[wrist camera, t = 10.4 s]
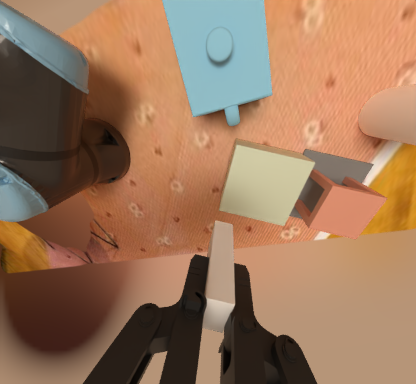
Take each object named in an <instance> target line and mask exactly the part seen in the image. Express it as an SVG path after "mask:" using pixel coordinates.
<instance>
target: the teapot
mask: <svg viewBox="0 0 416 384" xmlns="http://www.w3.org/2000/svg"><path fill="white" fill-rule="evenodd" d="M162 2H163V5H164V9H165V13H166V17H167V20H168V24H169V28H170V32H171V36H172V39H173V43H174V47H175V51H176V54H177V58H178V62H179V66H180V70H181V73H182V77H183V81H184V85H185V88H186V92H187V96H188V100H189V104H190V107H191V111H192V115H193V117H197V116H201V115H206V114H209V113H213V112H216V111H220V110H223V109H224V110H225V115H226V120H227V124H228V125H229V126H235V125H237V124H239V123H240V116H239V110H238V105H241V104H245V103H248V102H252V101H256V100H259V99H262V98H265V97H268V96H271V95H272V85H271V74H270V63H269V52H268V41H267V30H266V19H265V8H264V0H162Z"/></svg>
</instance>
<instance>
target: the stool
mask: <svg viewBox="0 0 416 384" xmlns="http://www.w3.org/2000/svg"><path fill="white" fill-rule="evenodd" d="M309 176H310V177H311V178H312V179H313V180H314V181H316V182H317V183H318V184H319V185H320V186H321V187H322V188H324V189H325V190H324V192H323V194H322V195H321V197H320V199H319V201H318V202H317V204H316V206H315V208H314V210H313V211H312V213H311V212H310V211H309V209H308V208H307V207H306V205H305V204H304V203H303V202H302V200H299V199H297V201H296V203H295V205H294V206H295V208H296V209H297V211H298V212H299V214H300V215H301V217H302V219H303V220H304V222H305V223H306V225H307V226H308V228H310V229H314V230H318V231H323V232H327V233H331V234H335V235H339V236H344V237H348V238H352V239H357V238H358V236H359V235H360V234H361V232H362V231H363V230H364V228H365V227H366V226H367V225H368V223H369V222H370V221H371V219H372V218H373V217H374V215H375V214H376V213H377V212H378V210H379V209H380V208H381V206H382V205H383V204H384V202H385V201H386V200H387V198H386V197H384V196H383V195H381V194H379V193H377V192H376V191H374V190H372V189H370V188H369V187H367V186H365V185H363V184H362V183H360V182H358V181H356V180H355V179H353V178H350V177H346V176H345V178H344V180H343V181H342V183H344V184H345V185H347V186H348V187H346V186H342V185H338V184H336V183H334V182H333V181H332V180H330V179H329V178H327V177H326V176H325V175H323V174H322V173H320V172H319V171H318V170H315V169H312V171H311V173H310V175H309Z"/></svg>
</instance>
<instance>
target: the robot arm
mask: <svg viewBox="0 0 416 384" xmlns="http://www.w3.org/2000/svg"><path fill="white" fill-rule="evenodd" d="M88 77H89V64H88V61H87V59H86V57H85V56H84V54H83V53H82V52H81V51H80V50H79V49H78V48H77V47H75V46H74V45H72V44H71V43H69V42H68V41H66V40H65V39H63V38H61V37H60V36H58V35H56V34H55V33H53V32H52V31H50V30H48V29H47V28H45V27H44V26H42V25H40V24H39V23H37V22H35V21H33V20H32V19H30V18H29V17H27V16H25V15H24V14H22V13H20V12H19V11H17V10H15V9H14V8H12V7H11V6H9V5H7V4H6V3H4V2H2V1H0V220H2V221H8V222H18V221H23V220H26V219H29V218H31V217H33V216H35V215H38V214H40V213H44V212H46V211H48V209H50V208H52V207H53V206H55V205H57V204H59V203H61V202H62V201H64V200H66V199H68V198H70V197H71V196H73V195H75V194H77V193H79V192H80V191H82V190H84V189H86V188H88V187H90V186H93V185H101V184H109V183H112V182H115V181H116V180H118V179H120V178H121V177H123V176H124V175H125V174H126V172H127V170H128V168H129V165H130V153H129V149H128V146H127V144H126V142H125V140H124V139H123V137H122V136H121V134H120V133H119V132H118V131H117V130H116V129H115V128H114V127H113V126H111V125H110V124H108V123H106V122H104V121H102V120H99V119H94V118H87V119H84V116H85V109H86V101H87V94H89V90H88ZM250 287H251V286H250V277H249V272H248V270H247V268H246V266H245V265H240V264H236V263H234V245H233V224H229V223H225V222H221V221H217V220H215V224H214V227H213V231H212V235H211V238H210V242H209V247H208V253H207V257H205V256H200V255H196V254H195V256H194V257H193V258H192V259H191V262H190V266H189V270H188V274H187V278H186V282H185V285H184V290H183V293H182V296H181V298H180V300H179V301H178V302H177V303H176V304H174V305H172V306H169V307H162V308H159V307H158V306H156V304H152V303H147V304H144V305H142V306H140V307H139V308H138V309H137V310H136V311H135V312H134V314H133V315H132V317H131V318H130V319H129V321H128V322H127V323H126V325H125V326H124V328H123V329H122V330H121V332H120V333H119V335H118V336H117V337H116V339H115V340H114V342H113V343H112V344H111V345H110V347H109V348H108V350H107V351H106V352H105V354H104V355H103V357H102V358H101V359H100V361H99V362H98V364H97V365H96V366H95V368H94V369H93V370H92V372H91V373H90V374H89V376H88V377H87V379H86V380H85V381H84V383H83V384H139V383H140V380H141V379H142V377H143V374H144V373H145V370H146V369H147V367H148V365H149V363H150V361H151V359H152V357H153V355H154V354H155V353H160V352H165V351H167V355H166V359H165V363H164V367H163V371H162V375H161V379H160V383H159V384H195V382H196V374H197V367H198V359H199V350H200V342H201V334H202V328H205V329H209V330H213V331H217V332H221V333H222V332H223V330H224V339H223V341H222V343H221V345H220V347H219V353H221V376H220V384H317V382H316V380H315V378H314V375H313V373H312V371H311V369H310V367H309V365H308V363H307V360H306V358H305V356H304V354H303V352H302V350H301V348H300V347H299V345H298V344H297V343H296V341H295V340H294V339H292V338H291V337H289V336H287V335H280V336H278V337H276V336H275V335H273V334H272V333H270V332H268V331H267V330H266V329H264V328H263V327H262V326H261V325H260V324H259V323H258V322H257V320H256V318H255V316H254V311H253V302H252V294H251V288H250Z"/></svg>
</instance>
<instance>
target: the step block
mask: <svg viewBox="0 0 416 384" xmlns="http://www.w3.org/2000/svg"><path fill="white" fill-rule="evenodd" d="M314 165H315V162H314V161H312V160H311V159H309V158H308V157H306V156H305V155H303V154H301V153H298V152H294V151H289V150H285V149H280V148H276V147H271V146H267V145H263V144H258V143H254V142H249V141H245V140H240V139H236V140H235V144H234V148H233V151H232V155H231V159H230V163H229V167H228V170H227V174H226V178H225V182H224V186H223V190H222V193H221V199H220V206H219V211H223V212H227V213H231V214H236V215H240V216H244V217H248V218H252V219H257V220H261V221H265V222H269V223H273V224H277V225H282V226H284V225H285V223H286V221H287V219H288V217H289V215H290V213H291V211H292V209H293V207H294V205H295V203H296V201H297V199H298V197H299V195H300V193H301V191H302V189H303V187H304V185H305V183H306V181H307V179H308V177H309V175H310V173H311V171H312V169H313V167H314Z"/></svg>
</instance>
